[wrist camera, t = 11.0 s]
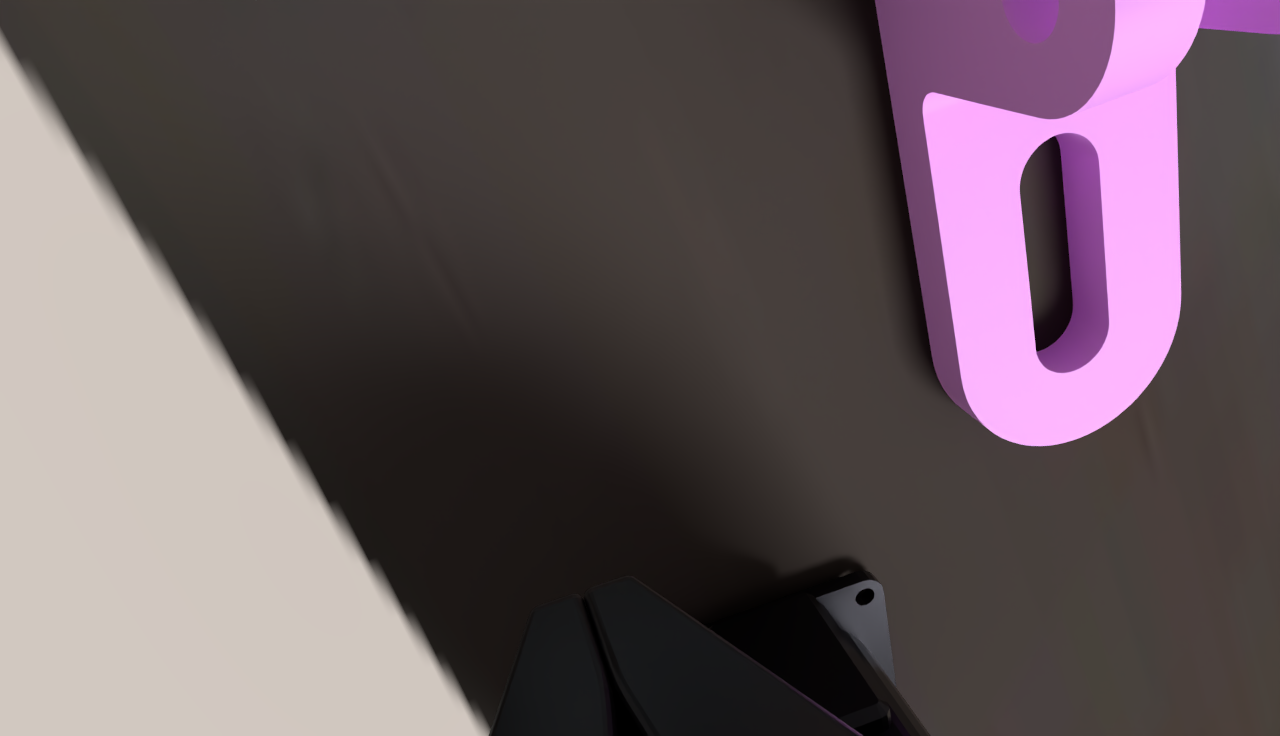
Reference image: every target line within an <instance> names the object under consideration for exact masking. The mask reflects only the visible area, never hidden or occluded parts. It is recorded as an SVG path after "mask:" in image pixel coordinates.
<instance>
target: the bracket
mask: <svg viewBox="0 0 1280 736" xmlns="http://www.w3.org/2000/svg"><path fill="white" fill-rule="evenodd" d="M875 4H876V10H877V16H878V23H879V29H880V35H881V41H882V48H883V54H884V60H885V66H886V73H887V79H888V85H889V91H890V98H891V104H892V110H893V116H894V123H895V129H896V135H897V141H898V148H899V154H900V160H901V166H902V173H903V179H904V185H905V191H906V198H907V204H908V210H909V216H910V223H911V229H912V235H913V241H914V248H915V254H916V260H917V266H918V273H919V279H920V285H921V291H922V298H923V304H924V310H925V316H926V323H927V329H928V335H929V341H930V348H931V354H932V359H933V364H934V368H935V371H936V374H937V377H938V379H939V381H940V383H941V385H942V387H943V389H944V390H945V392H946V393H947V395H948V396H949V397H950V398H951V399H952V400H953V401H954V403H955V404H957V405H958V406H959V407H960V408H962V409H963V410H964V411H965V412H967V413H968V414H969V415H971V416H972V417H973V418H974V419H976V420H977V421H978V422H980V423H981V424H982V425H984V426H985V427H986V428H987V429H989V430H990V431H991V432H993V433H994V434H996V435H998V436H999V437H1001V438H1003V439H1006V440H1008V441H1010V442H1014V443H1017V444H1022V445H1029V446H1048V445H1056V444H1061V443H1065V442H1069V441H1072V440H1075V439H1078V438H1080V437H1083V436H1085V435H1087V434H1089V433H1091V432H1093V431H1095V430H1097V429H1099V428H1100V427H1102V426H1104V425H1105V424H1107V423H1109V422H1110V421H1111V420H1113V419H1114V418H1115V417H1117V416H1118V415H1119V414H1120V413H1122V412H1123V411H1124V410H1125V409H1126V408H1127V407H1129V406H1130V405H1131V404H1132V403H1133V401H1134V400H1135V399H1136V398H1137V397H1138V396H1139V395H1140V394H1141V393H1142V392H1143V390H1144V389H1145V388H1146V387H1147V386H1148V384H1149V383H1150V381H1151V380H1152V379H1153V377H1154V376H1155V374H1156V373H1157V371H1158V370H1159V368H1160V366H1161V365H1162V363H1163V361H1164V359H1165V357H1166V355H1167V353H1168V351H1169V348H1170V346H1171V343H1172V341H1173V338H1174V335H1175V332H1176V328H1177V324H1178V319H1179V314H1180V306H1181V270H1180V229H1179V189H1178V149H1177V109H1176V69H1175V68H1176V67H1177V66H1178V64H1179V63H1180V62H1181V60H1182V59H1183V58H1184V56H1185V55H1186V53H1187V51H1188V50H1189V48H1190V46H1191V44H1192V42H1193V40H1194V38H1195V36H1196V34H1197V31H1198V28H1206V29H1218V30H1229V31H1241V32H1253V33H1265V34H1280V0H875ZM1053 136H1056V138H1057V140H1058V143H1059V146H1060V151H1061V162H1062V174H1063V187H1064V199H1065V211H1066V223H1067V236H1068V248H1069V260H1070V272H1071V284H1072V297H1073V312H1072V316H1071V320H1070V322H1069V324H1068V327H1067V328H1066V330H1065V331H1064V333H1063V334H1062V335H1061V337H1060V338H1059V339H1058V340H1057V341H1056V342H1054V343H1053V344H1052V345H1051V346H1049V347H1047V348H1045V349H1043V350H1041V351H1038V352H1036V345H1035V336H1034V326H1033V316H1032V307H1031V297H1030V287H1029V278H1028V268H1027V258H1026V249H1025V239H1024V229H1023V220H1022V210H1021V200H1020V179H1021V175H1022V172H1023V169H1024V166H1025V164H1026V162H1027V160H1028V159H1029V157H1030V156H1031V154H1032V153H1033V152H1034V151H1035V150H1036V148H1037V147H1038V146H1040V145H1041V144H1042V143H1043V142H1045V141H1046V140H1048V139H1049V138H1051V137H1053Z"/></svg>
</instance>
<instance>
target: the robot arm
mask: <svg viewBox="0 0 1280 736" xmlns="http://www.w3.org/2000/svg"><path fill="white" fill-rule="evenodd" d="M866 588H867V589H866ZM863 589H866V590H865V591H864V593H862V594H861V595H859V596H856V595H857V594H858V593H859V591H861V590H863ZM584 600H585V602H584ZM584 600H583V598H582V597H581V596H580V595H579V594H570V595H567V596H565V597H562V598H559V599H556V600H553V601H550V602H547V603H544V604H541V605H538V606H537V607H535V608H533V610H532V611H531V612H530V614H529V617H528V620H527V623H526V626H525V629H524V632H523V635H522V638H521V641H520V644H519V647H518V650H517V653H516V656H515V659H514V662H513V665H512V668H511V671H510V674H509V677H508V680H507V683H506V686H505V689H504V692H503V695H502V698H501V701H500V704H499V707H498V710H497V713H496V716H495V719H494V722H493V725H492V728H491V731H490V734H489V736H930V734H929V733H928V732H927V730H926V729H925V727H924V726H923V725H922V723H921V722H920V720H919V719H918V718H917V716H916V715H915V713H914V712H913V711H912V709H911V708H910V706H909V705H908V704H907V702H906V701H905V699H904V698H903V697H902V695H901V694H900V692H899V691H898V690H897V688H896V682H895V675H894V667H893V659H892V652H891V644H890V636H889V629H888V621H887V613H886V606H885V598H884V590H883V588H882V585H881V584H880V583H879V581H878V580H877V579H876V578H875V576H874V575H872V574H871V573H870V572H867V571H858V572H854V573H851V574H848V575H845V576H843V577H840V578H837V579H834V580H831V581H829V582H826V583H823V584H820V585H817V586H814V587H812V588H809V589H806V590H803V591H800V592H798V593H795V594H792V595H789V596H786V597H783V598H781V599H778V600H775V601H772V602H769V603H767V604H764V605H761V606H758V607H755V608H752V609H750V610H747V611H744V612H741V613H738V614H736V615H733V616H730V617H727V618H724V619H722V620H719V621H716V622H713V623H710V624H707V625H705V626H704V625H703V624H702V623H700V622H699V621H697V620H696V619H694V618H693V617H692V616H690V615H689V614H687V613H686V612H684V611H683V610H681V609H680V608H679V607H677V606H676V605H674V604H673V603H671V602H670V601H668V600H667V599H666V598H664V597H663V596H661V595H660V594H658V593H657V592H655V591H654V590H653V589H651V588H650V587H648V586H647V585H645V584H644V583H643V582H641V581H640V580H638V579H637V578H635V577H633V576H629V575H627V576H623V577H620V578H617V579H614V580H611V581H608V582H605V583H602V584H600V585H597V586H594V587H591V588H589V589H588V590H587V591H586V592H585V595H584ZM585 603H586V605H585ZM586 607H587V608H586ZM587 610H588V611H587ZM588 613H589V614H588Z"/></svg>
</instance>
